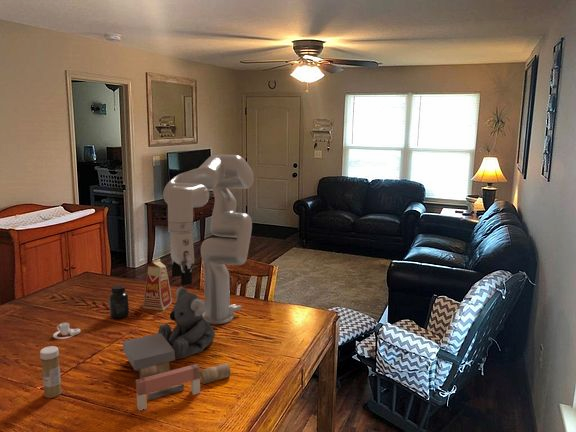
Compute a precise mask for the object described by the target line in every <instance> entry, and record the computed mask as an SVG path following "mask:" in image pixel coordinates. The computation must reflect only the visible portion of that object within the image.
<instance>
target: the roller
mask: <svg viewBox="0 0 576 432" xmlns="http://www.w3.org/2000/svg"><path fill="white" fill-rule="evenodd" d="M230 377H231V367H230V366H229V363H227V362H225V363H222V364H218V365H215V366H211V367H207V368H204V369H203V368H202V369H201V370H200V382H201V383H202V384H203V385H206V384H209V383H212V382H213V383H214V382H216V381H219V380H223V379H227V378H230Z"/></svg>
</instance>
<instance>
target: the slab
mask: <svg viewBox="0 0 576 432" xmlns="http://www.w3.org/2000/svg"><path fill="white" fill-rule="evenodd" d="M122 350H123V353H124V355H125V357H126V358H127V359H128V362H129V363H130V365H131V367H132V368H133V370H134V371H136V370H138V369H142V368H146V367H149V366H153V365H157V364H161V363H165V362H172V361H176V359H175V351H174V349H173V348H172V346H170V344H169V343H168V342H167V340H166V339H165V338H164V337H163V335H162V334H161V333H154V334H151V335H150V334H149V335H145V336H142V337H136V338H132V339H128V340H123V341H122Z"/></svg>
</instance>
